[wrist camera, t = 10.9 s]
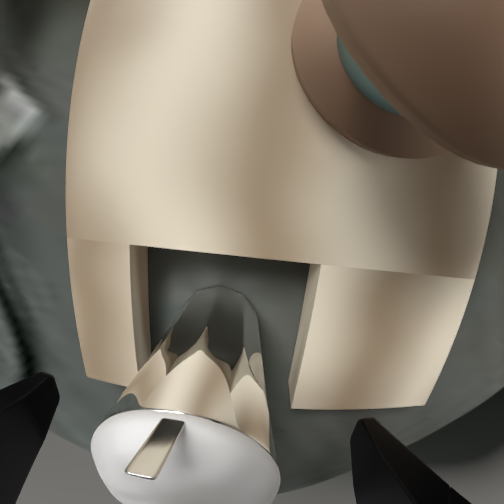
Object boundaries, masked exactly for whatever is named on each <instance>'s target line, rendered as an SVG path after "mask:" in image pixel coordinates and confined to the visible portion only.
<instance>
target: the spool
mask: <svg viewBox="0 0 504 504" xmlns="http://www.w3.org/2000/svg"><path fill="white" fill-rule="evenodd" d="M291 51H292V59H293V64H294V68H295V72H296V75H297V78H298V80H299V82H300V85H301V87H302V89H303V91H304V93H305V94H306V96H307V98H308V100H309V101H310V103H311V104H312V105H313V107H314V108H315V110H316V111H317V112H318V113H319V114H320V116H321V117H322V118H323V119H324V120H325V121H326V122H327V123H328V124H329V125H330V126H331V127H332V128H333V129H335V130H336V131H337V132H338V133H339V134H341V135H342V136H344V137H345V138H346V139H348V140H349V141H351V142H353V143H355V144H356V145H358V146H360V147H362V148H364V149H367V150H369V151H371V152H374V153H377V154H381V155H384V156H389V157H396V158H407V159H423V158H430V157H435V156H438V155H442V154H445V153H447V152H449V151H450V152H452V153H454V154H455V155H457V156H459V157H461V158H463V159H466V160H468V161H471V162H473V163H476V164H478V165H483V166H487V167H491V168H496V169H503V170H504V0H303V1H302V2H301V4H300V6H299V9H298V12H297V15H296V18H295V22H294V26H293V31H292V37H291Z"/></svg>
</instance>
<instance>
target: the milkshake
mask: <svg viewBox="0 0 504 504" xmlns="http://www.w3.org/2000/svg"><path fill="white" fill-rule="evenodd" d="M91 452H92V456H93V459H94V462H95V465H96V468H97V470H98V472H99V474H100V477H101V478H102V480H103V482H104V483H105V485H106V486H107V488H108V489H109V491H110V492H111V493H112V494H113V496H114V497H115V498H116V499H118V500H119V501H120V502H121V503H122V504H271V503H272V502H273V501H274V499H275V497H276V495H277V493H278V490H279V487H280V472H279V469H278V463H277V457H276V451H275V445H274V438H273V432H272V426H271V420H270V414H269V408H268V401H267V395H266V387H265V378H264V370H263V361H262V352H261V343H260V335H259V326H258V318H257V313H256V312H255V310H254V309H253V308H252V306H251V305H250V303H249V302H248V300H247V299H246V297H245V296H244V295H243V294H240V293H238V292H235V291H233V290H230V289H228V288H225V287H223V286H217V287H213V288H208V289H203V290H198V291H196V293H195V294H194V295H193V296H192V297H191V298H190V300H189V301H188V302H187V303H186V304H185V305H184V306H183V308H182V309H181V310H180V312H179V313H178V315H177V316H176V318H175V319H174V321H173V322H172V324H171V325H170V327H169V328H168V330H167V331H166V333H165V334H164V336H163V337H162V339H161V340H160V342H159V343H158V345H157V346H156V348H155V349H154V351H153V352H152V354H151V355H150V357H149V358H148V360H147V361H146V363H145V364H144V366H143V367H142V368H141V369H140V370H139V372H138V373H137V374H136V375H135V377H134V378H133V379H132V381H131V382H130V384H129V385H128V386H127V388H126V389H125V390H124V392H123V393H122V394H121V396H120V397H119V399H118V400H117V401H116V403H115V404H114V406H113V407H112V408H111V410H110V411H109V413H108V414H107V415H106V417H105V418H104V420H103V421H102V422H101V424H100V425H99V427H98V428H97V429H96V431H95V433H94V435H93V437H92V440H91Z"/></svg>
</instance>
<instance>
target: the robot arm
mask: <svg viewBox="0 0 504 504" xmlns="http://www.w3.org/2000/svg"><path fill="white" fill-rule="evenodd" d="M59 399H60V396H59V392H58V388H57V385H56V382H55V379H54V377H53V376H52V375H51V374H48V373H45V372H39V373H37V374H35V375H33V376H30V377H28V378H26V379H24V380H21V381H19V382H17V383H15V384H12V385H10V386H8V387H5V388H3V389H1V390H0V504H16V501H17V499H18V496H19V494H20V492H21V489H22V487H23V485H24V483H25V480H26V478H27V476H28V474H29V472H30V469H31V467H32V465H33V463H34V461H35V459H36V457H37V454H38V452H39V450H40V448H41V446H42V444H43V442H44V440H45V437H46V435H47V432H48V429H49V427H50V424H51V421H52V419H53V416H54V413H55V411H56V408H57V405H58V403H59ZM350 446H351V459H352V473H353V486H354V492H355V497H356V503H357V504H471V503H470V502H469V501H468V500H466V499H465V498H464V497H463V496H461V495H460V494H459V493H458V492H456V491H455V490H454V489H453V488H452V487H450V486H449V485H448V484H447V483H446V482H445V481H444V480H442V479H441V478H440V477H439V476H438V475H437V474H436V473H435V472H433V471H432V470H431V469H430V468H429V467H428V466H427V465H426V464H424V463H423V462H422V461H421V460H420V459H419V458H418V457H417V456H416V455H414V454H413V453H412V452H411V451H410V450H409V449H408V448H407V447H406V446H404V445H403V444H402V443H401V442H400V441H399V440H398V439H397V438H396V437H395V436H393V435H392V434H391V433H390V432H389V431H388V430H387V429H386V428H385V427H384V426H383V425H382V424H380V423H379V422H378V421H377V420H376V419H375V418H373V417H364V418H360V419H359V420H358V422H357V424H356V426H355V429H354V431H353V433H352V435H351V439H350Z"/></svg>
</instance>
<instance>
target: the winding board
mask: <svg viewBox="0 0 504 504" xmlns="http://www.w3.org/2000/svg"><path fill="white" fill-rule="evenodd" d="M302 1H303V0H91V1H90V5H89V8H88V12H87V16H86V20H85V24H84V29H83V33H82V38H81V43H80V48H79V53H78V58H77V64H76V70H75V76H74V83H73V90H72V98H71V106H70V116H69V127H68V140H67V159H66V226H67V245H68V258H69V270H70V279H71V288H72V296H73V304H74V311H75V318H76V324H77V330H78V336H79V341H80V346H81V351H82V356H83V361H84V366H85V370H86V375H87V377H90V378H94V379H97V380H101V381H105V382H109V383H113V384H118V385H122V386H126V387H127V386H128V385H129V384H130V382H131V381H132V379H133V378H134V377H135V375H136V374H137V373H138V372H139V370H140V369H141V368H142V367H143V366H144V364H145V363H146V361H147V360H148V358H149V357H150V355H151V340H150V322H149V297H148V247H158V248H167V249H177V250H186V251H195V252H205V253H214V254H224V255H233V256H243V257H253V258H262V259H272V260H282V261H292V262H301V263H310V267H309V273H308V279H307V285H306V291H305V297H304V302H303V308H302V314H301V319H300V324H299V330H298V335H297V340H296V345H295V350H294V355H293V360H292V365H291V370H290V374H289V379H288V383H289V393H290V404H291V409H328V410H341V409H378V408H395V407H408V406H420V405H425V403H426V401H427V399H428V397H429V395H430V393H431V391H432V389H433V387H434V385H435V383H436V381H437V379H438V377H439V374H440V372H441V370H442V368H443V365H444V363H445V361H446V359H447V356H448V354H449V351H450V349H451V347H452V344H453V342H454V339H455V336H456V334H457V331H458V329H459V326H460V323H461V320H462V318H463V315H464V312H465V309H466V306H467V303H468V300H469V297H470V294H471V290H472V287H473V284H474V280H475V277H476V273H477V270H478V266H479V262H480V259H481V255H482V251H483V246H484V242H485V238H486V233H487V229H488V224H489V219H490V214H491V208H492V202H493V196H494V190H495V183H496V175H497V169H496V168H491V167H487V166H483V165H478V164H476V163H473V162H471V161H468V160H466V159H463V158H461V157H459V156H457V155H455V154H454V153H452V152H450V151H449V152H447V153H445V154H442V155H438V156H435V157H430V158H423V159H407V158H396V157H389V156H384V155H381V154H377V153H374V152H371V151H369V150H367V149H364V148H362V147H360V146H358V145H356V144H355V143H353V142H351V141H349V140H348V139H346V138H345V137H344V136H342V135H341V134H339V133H338V132H337V131H336V130H335V129H333V128H332V127H331V126H330V125H329V124H328V123H327V122H326V121H325V120H324V119H323V118H322V117H321V116H320V114H319V113H318V112H317V111H316V110H315V108H314V107H313V105H312V104H311V103H310V101H309V100H308V98H307V96H306V94H305V93H304V91H303V89H302V87H301V85H300V82H299V80H298V78H297V75H296V72H295V68H294V64H293V59H292V51H291V37H292V31H293V26H294V22H295V18H296V15H297V12H298V9H299V6H300V4H301V2H302Z"/></svg>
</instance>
